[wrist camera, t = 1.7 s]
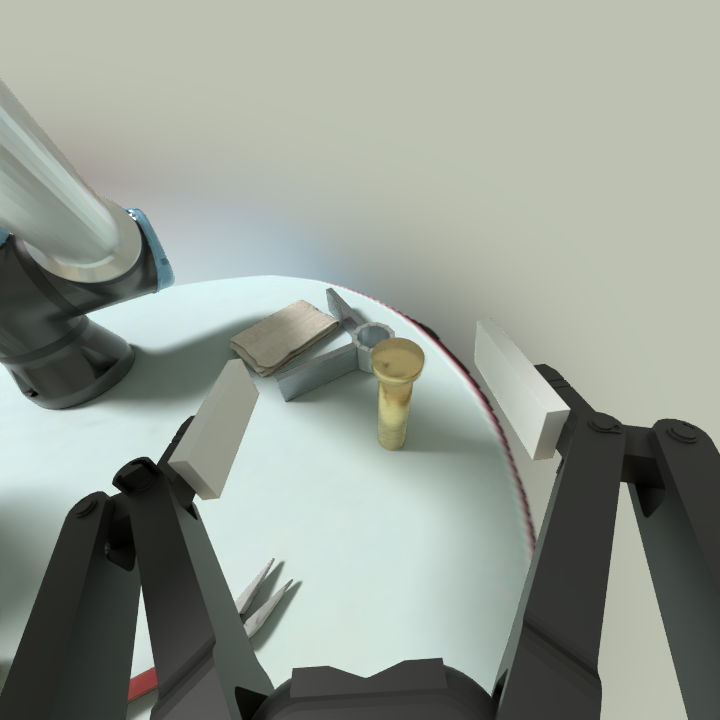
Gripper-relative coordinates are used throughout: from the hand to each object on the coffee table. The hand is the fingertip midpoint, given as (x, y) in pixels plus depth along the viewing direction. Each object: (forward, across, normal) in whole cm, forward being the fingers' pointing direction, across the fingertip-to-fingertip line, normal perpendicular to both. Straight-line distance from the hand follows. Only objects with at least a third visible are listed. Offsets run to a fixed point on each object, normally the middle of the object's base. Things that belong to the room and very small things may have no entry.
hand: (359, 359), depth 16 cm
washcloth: (+34, -16, -17) cm, 41 cm away
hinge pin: (+12, +1, -22) cm, 26 cm away
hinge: (+30, -9, -18) cm, 36 cm away
